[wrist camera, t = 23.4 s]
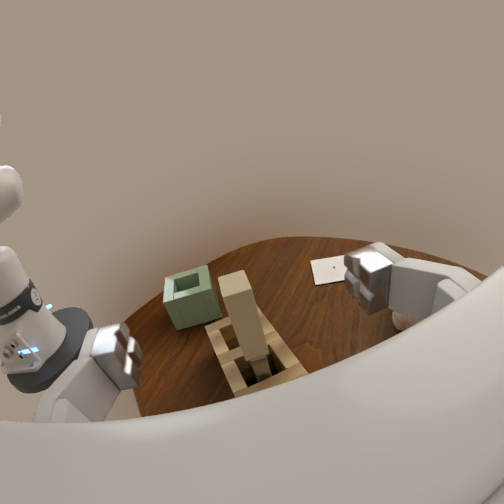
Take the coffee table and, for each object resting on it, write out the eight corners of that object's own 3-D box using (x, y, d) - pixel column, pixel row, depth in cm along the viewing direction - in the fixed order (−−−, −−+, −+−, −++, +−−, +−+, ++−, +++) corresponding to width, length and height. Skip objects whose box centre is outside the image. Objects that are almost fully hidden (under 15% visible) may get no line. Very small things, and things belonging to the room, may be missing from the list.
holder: (176, 330, 43) (162, 302, 41) (176, 303, 51) (165, 277, 48) (222, 317, 44) (211, 288, 42) (216, 291, 51) (207, 264, 49)
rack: (338, 432, 23) (339, 412, 21) (272, 466, 21) (262, 452, 19) (263, 330, 40) (256, 304, 37) (215, 350, 38) (204, 326, 36)
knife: (262, 402, 29) (222, 298, 21) (255, 380, 32) (217, 276, 24) (281, 396, 29) (252, 289, 22) (273, 374, 32) (243, 268, 25)
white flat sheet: (350, 254, 52) (349, 250, 51) (360, 277, 45) (360, 273, 44) (310, 260, 53) (309, 257, 53) (315, 284, 46) (315, 281, 46)
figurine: (393, 257, 42) (381, 314, 31) (415, 248, 39) (412, 304, 28) (406, 285, 42) (397, 345, 31) (427, 276, 40) (426, 338, 29)
